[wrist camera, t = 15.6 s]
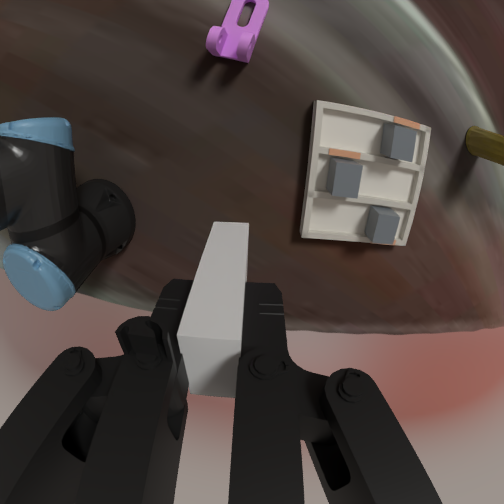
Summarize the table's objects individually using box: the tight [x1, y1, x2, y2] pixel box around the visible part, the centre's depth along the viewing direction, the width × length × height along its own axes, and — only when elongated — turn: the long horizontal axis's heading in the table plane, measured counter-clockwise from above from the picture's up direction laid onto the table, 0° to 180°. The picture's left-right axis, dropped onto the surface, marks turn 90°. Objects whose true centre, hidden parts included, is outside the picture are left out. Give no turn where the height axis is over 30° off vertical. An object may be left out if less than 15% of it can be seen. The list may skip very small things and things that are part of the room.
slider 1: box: [326, 157, 363, 199], centre depth 38 cm, size 4×5×4 cm
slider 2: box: [380, 123, 417, 162], centre depth 34 cm, size 4×5×4 cm
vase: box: [466, 126, 504, 166], centre depth 29 cm, size 6×6×14 cm
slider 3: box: [365, 205, 400, 245], centre depth 41 cm, size 4×5×4 cm
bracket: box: [206, 0, 269, 63], centre depth 27 cm, size 13×6×7 cm, turn 163°
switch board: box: [300, 100, 431, 246], centre depth 40 cm, size 20×22×3 cm
